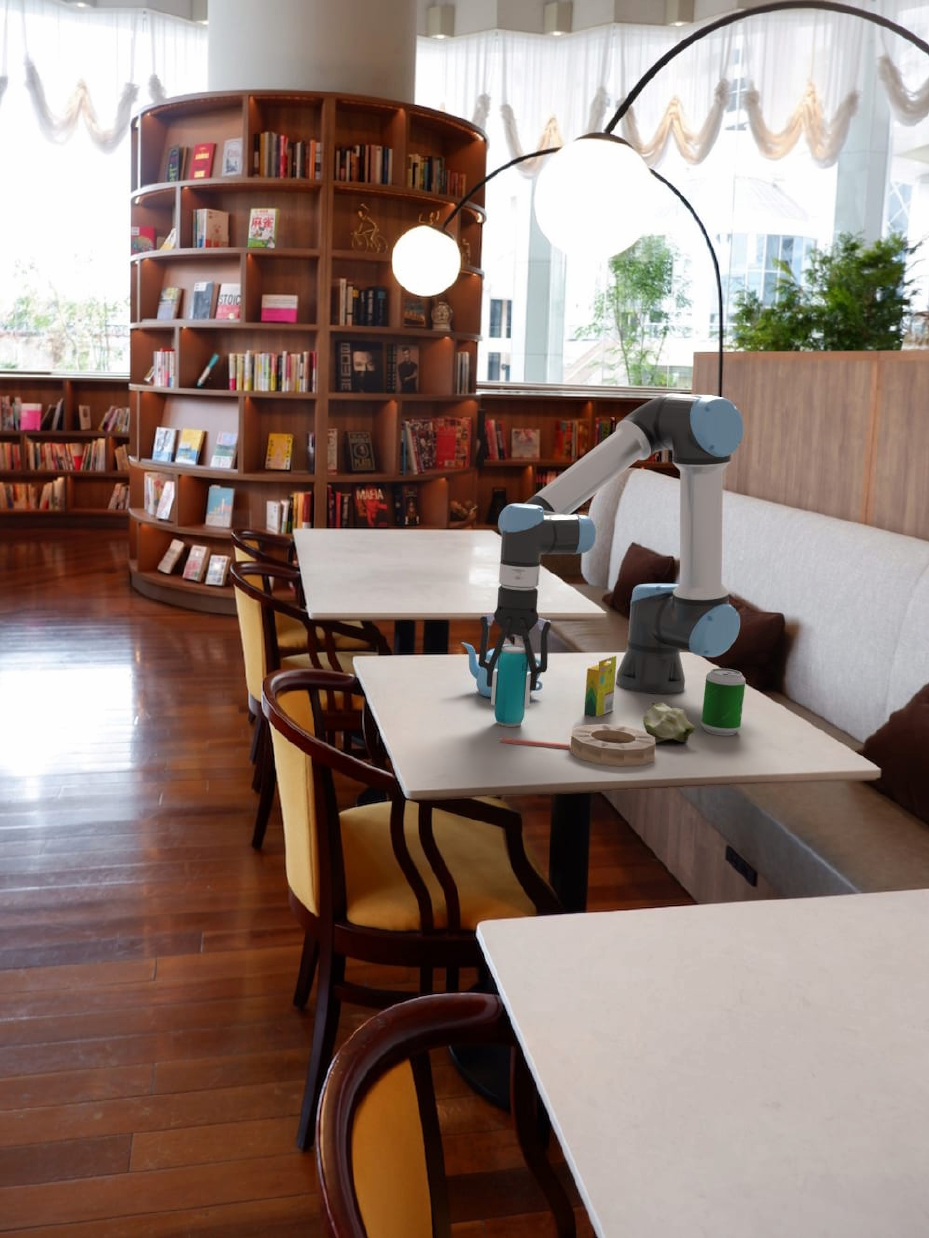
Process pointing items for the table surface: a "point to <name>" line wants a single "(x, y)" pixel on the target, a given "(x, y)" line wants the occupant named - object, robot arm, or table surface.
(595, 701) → the crayon box
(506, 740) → the stick
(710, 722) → the soda can
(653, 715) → the fruit
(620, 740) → the tan flat ring
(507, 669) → the beverage can
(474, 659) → the teapot
